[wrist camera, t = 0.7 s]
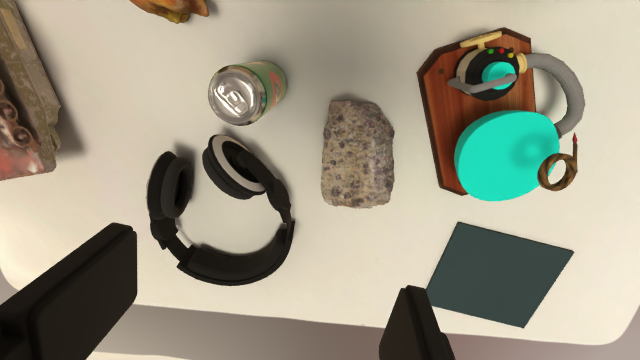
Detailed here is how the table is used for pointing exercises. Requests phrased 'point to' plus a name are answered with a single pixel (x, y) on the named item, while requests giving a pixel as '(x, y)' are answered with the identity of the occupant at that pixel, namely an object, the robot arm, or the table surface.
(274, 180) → the headphones
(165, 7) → the figurine
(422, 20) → the table surface
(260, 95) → the soda can
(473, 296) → the mat
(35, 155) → the decorative box
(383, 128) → the rock
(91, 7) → the table surface
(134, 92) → the table surface
